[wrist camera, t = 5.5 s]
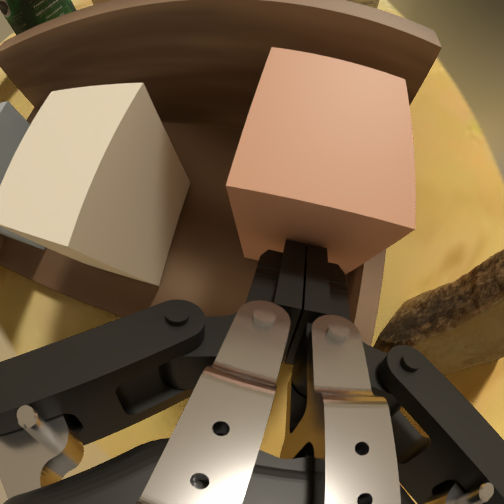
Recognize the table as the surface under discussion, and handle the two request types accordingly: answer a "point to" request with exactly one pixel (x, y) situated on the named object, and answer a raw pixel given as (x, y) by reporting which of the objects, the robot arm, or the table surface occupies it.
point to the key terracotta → (324, 160)
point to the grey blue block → (11, 150)
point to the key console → (200, 123)
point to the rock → (454, 320)
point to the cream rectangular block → (97, 181)
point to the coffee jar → (33, 12)
